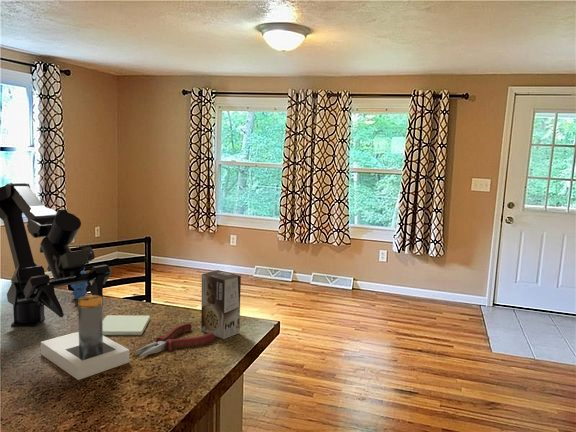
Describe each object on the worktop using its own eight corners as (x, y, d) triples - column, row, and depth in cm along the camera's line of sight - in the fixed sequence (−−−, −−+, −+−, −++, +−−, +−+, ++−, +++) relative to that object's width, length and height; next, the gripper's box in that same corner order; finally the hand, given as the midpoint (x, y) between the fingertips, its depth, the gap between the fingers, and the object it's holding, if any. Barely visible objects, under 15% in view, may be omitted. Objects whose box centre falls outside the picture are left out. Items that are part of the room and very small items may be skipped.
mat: (94, 335, 123) (94, 331, 122) (106, 318, 134) (106, 315, 134) (141, 335, 124) (141, 331, 124) (150, 318, 136) (150, 315, 136)
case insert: (41, 354, 110) (40, 341, 110) (90, 339, 119) (90, 328, 119) (78, 380, 99) (77, 366, 99) (129, 362, 108) (129, 349, 108)
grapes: (98, 303, 147) (98, 265, 146) (75, 306, 143) (74, 268, 142) (88, 293, 156) (88, 258, 155) (66, 296, 152) (66, 260, 151)
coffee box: (240, 333, 128) (242, 275, 126) (223, 339, 123) (224, 279, 121) (217, 324, 134) (218, 269, 131) (199, 330, 129) (200, 273, 126)
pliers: (122, 351, 114) (122, 341, 114) (188, 330, 130) (188, 321, 130) (150, 367, 107) (150, 356, 107) (216, 342, 123) (216, 332, 123)
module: (76, 367, 105) (74, 302, 102) (83, 357, 109) (82, 295, 107) (99, 367, 105) (98, 302, 103) (105, 357, 110) (105, 295, 108)
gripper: (27, 241, 102) (51, 302, 97) (107, 232, 116) (132, 285, 111) (14, 270, 108) (36, 328, 103) (92, 258, 122) (115, 309, 117)
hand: (82, 311), depth 108 cm, fingers open, 9 cm apart
